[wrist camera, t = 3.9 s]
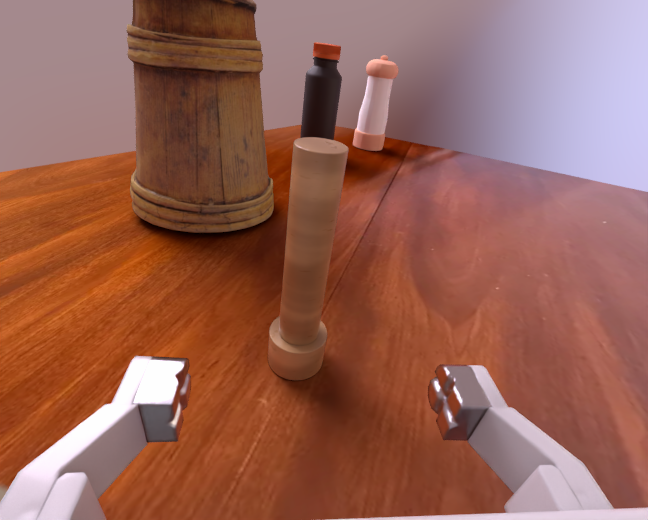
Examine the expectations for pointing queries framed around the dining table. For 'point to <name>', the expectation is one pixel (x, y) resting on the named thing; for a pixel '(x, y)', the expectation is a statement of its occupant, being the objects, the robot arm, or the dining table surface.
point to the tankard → (198, 116)
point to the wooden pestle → (307, 257)
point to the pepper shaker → (375, 105)
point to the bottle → (322, 93)
